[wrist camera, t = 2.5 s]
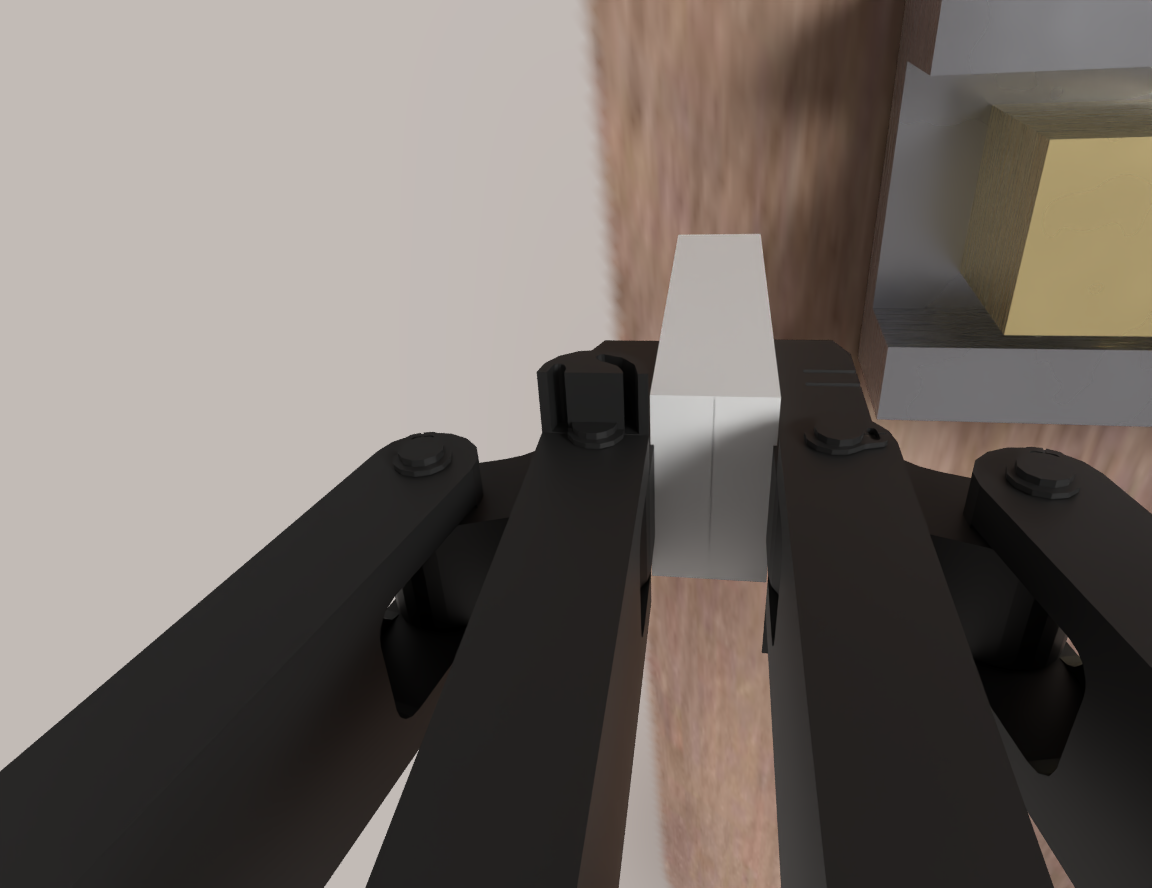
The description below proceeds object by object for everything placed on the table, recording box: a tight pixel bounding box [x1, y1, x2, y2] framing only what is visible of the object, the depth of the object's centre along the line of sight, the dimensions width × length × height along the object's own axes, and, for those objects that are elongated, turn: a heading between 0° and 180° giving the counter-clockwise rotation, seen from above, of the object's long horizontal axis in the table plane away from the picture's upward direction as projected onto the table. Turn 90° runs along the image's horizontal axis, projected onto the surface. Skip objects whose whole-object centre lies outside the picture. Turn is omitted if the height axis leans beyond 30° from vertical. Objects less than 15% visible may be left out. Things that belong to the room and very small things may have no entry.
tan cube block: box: [960, 99, 1152, 337], centre depth 17 cm, size 4×4×4 cm
